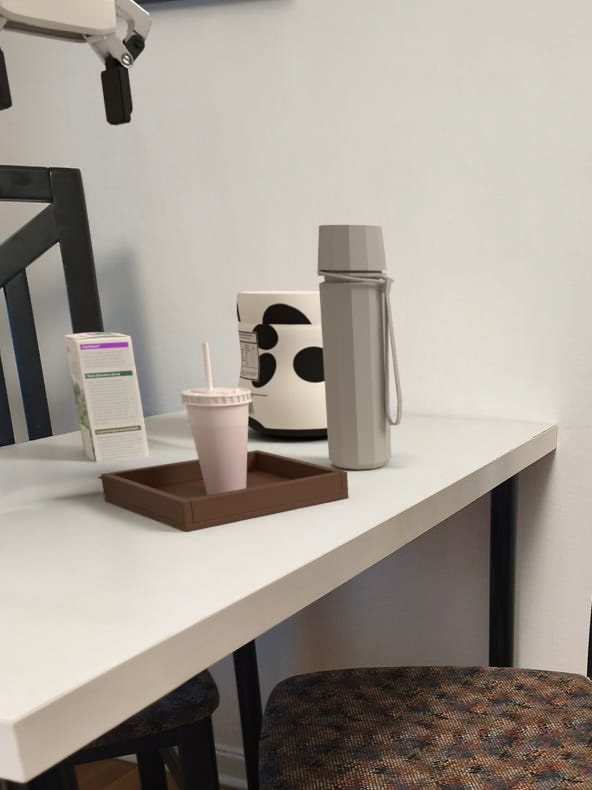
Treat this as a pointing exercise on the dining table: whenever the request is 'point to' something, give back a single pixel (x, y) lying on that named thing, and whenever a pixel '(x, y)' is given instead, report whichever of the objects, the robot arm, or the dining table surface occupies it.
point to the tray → (198, 510)
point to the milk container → (283, 361)
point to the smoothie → (219, 431)
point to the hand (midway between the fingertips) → (62, 116)
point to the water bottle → (356, 345)
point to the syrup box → (107, 395)
